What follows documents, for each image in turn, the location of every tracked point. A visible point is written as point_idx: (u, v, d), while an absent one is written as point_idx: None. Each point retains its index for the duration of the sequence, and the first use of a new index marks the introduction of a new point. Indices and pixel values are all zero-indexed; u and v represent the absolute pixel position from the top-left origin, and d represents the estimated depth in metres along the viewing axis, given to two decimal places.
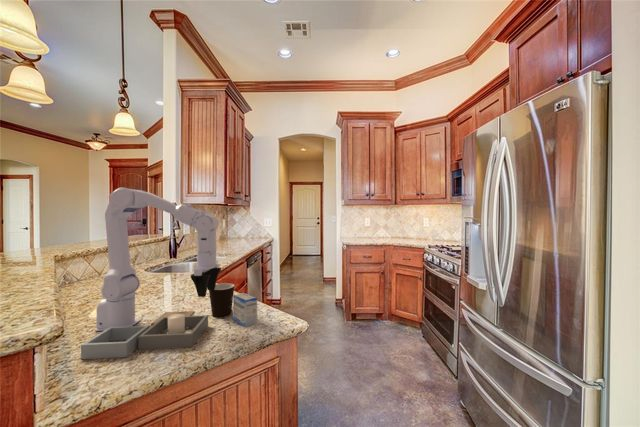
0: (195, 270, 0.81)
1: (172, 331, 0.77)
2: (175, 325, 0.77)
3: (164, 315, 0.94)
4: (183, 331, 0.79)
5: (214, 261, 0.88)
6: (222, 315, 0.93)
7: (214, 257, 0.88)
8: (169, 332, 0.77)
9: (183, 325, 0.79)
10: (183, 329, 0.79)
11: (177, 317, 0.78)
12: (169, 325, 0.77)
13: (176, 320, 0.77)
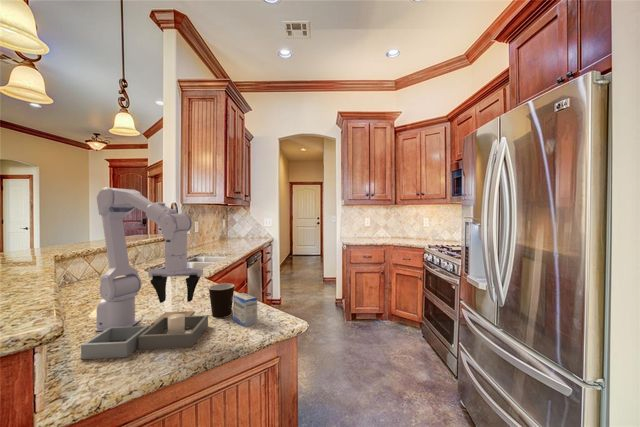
0: None
1: (172, 331, 0.77)
2: (175, 325, 0.77)
3: (164, 315, 0.94)
4: (183, 331, 0.79)
5: (169, 267, 0.76)
6: (222, 315, 0.93)
7: (169, 262, 0.76)
8: (169, 332, 0.77)
9: (183, 325, 0.79)
10: (183, 329, 0.79)
11: (177, 317, 0.78)
12: (169, 325, 0.77)
13: (176, 320, 0.77)
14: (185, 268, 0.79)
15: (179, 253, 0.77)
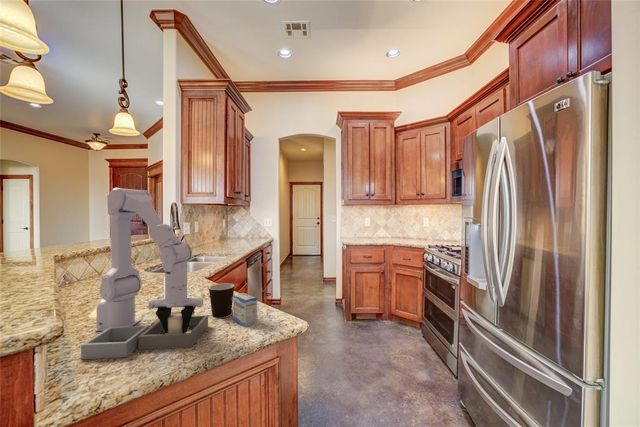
0: None
1: (172, 331, 0.77)
2: (175, 325, 0.77)
3: None
4: None
5: (169, 299, 0.76)
6: (222, 315, 0.93)
7: (169, 294, 0.76)
8: (169, 332, 0.77)
9: None
10: None
11: (177, 317, 0.78)
12: (169, 325, 0.77)
13: (176, 320, 0.77)
14: (185, 299, 0.79)
15: (179, 285, 0.77)
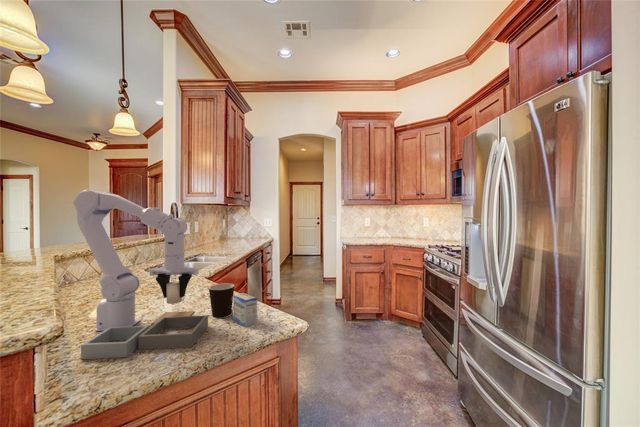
0: None
1: (171, 295, 0.86)
2: (173, 290, 0.86)
3: (164, 315, 0.94)
4: None
5: (168, 266, 0.85)
6: (222, 315, 0.93)
7: (168, 262, 0.85)
8: (168, 296, 0.86)
9: None
10: None
11: (175, 283, 0.87)
12: (168, 290, 0.86)
13: (174, 285, 0.86)
14: (182, 267, 0.88)
15: (181, 253, 0.87)
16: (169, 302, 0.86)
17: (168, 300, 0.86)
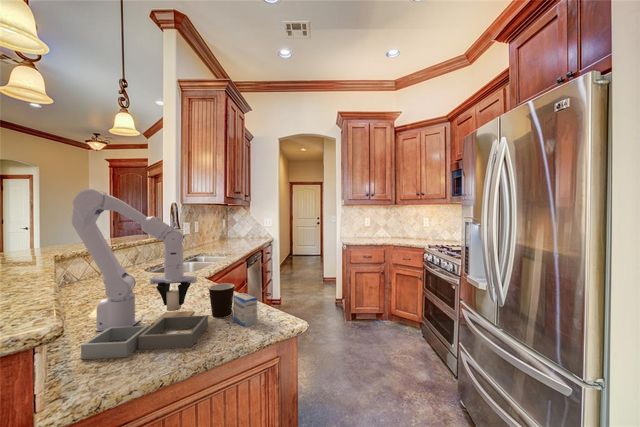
0: None
1: (171, 303, 0.91)
2: (173, 298, 0.91)
3: (164, 315, 0.94)
4: None
5: (168, 276, 0.90)
6: (222, 315, 0.93)
7: (168, 272, 0.90)
8: (168, 304, 0.91)
9: None
10: None
11: (174, 292, 0.92)
12: (168, 298, 0.91)
13: (174, 294, 0.91)
14: (181, 276, 0.93)
15: (182, 263, 0.93)
16: (169, 309, 0.91)
17: (168, 307, 0.91)
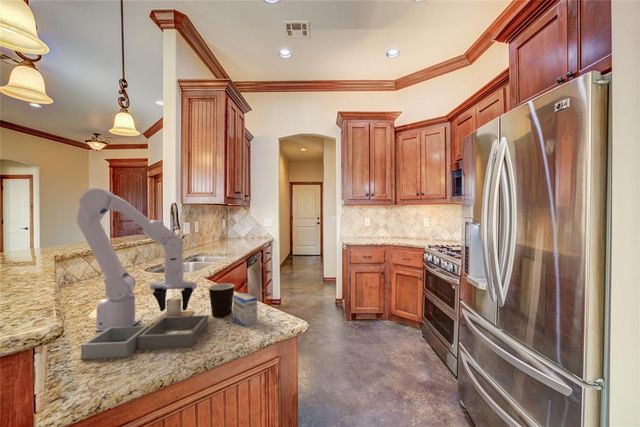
0: None
1: (171, 311, 0.91)
2: (173, 306, 0.91)
3: (164, 315, 0.94)
4: (180, 312, 0.93)
5: (168, 281, 0.90)
6: (222, 315, 0.93)
7: (168, 277, 0.90)
8: (168, 312, 0.91)
9: (180, 307, 0.93)
10: (180, 310, 0.93)
11: (174, 300, 0.92)
12: (168, 306, 0.91)
13: (174, 302, 0.91)
14: (181, 282, 0.93)
15: (182, 268, 0.93)
16: None
17: (168, 316, 0.91)
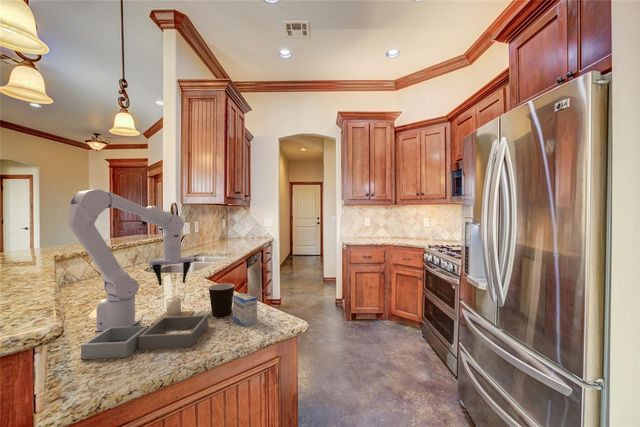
0: (149, 261, 0.98)
1: (171, 311, 0.91)
2: (173, 306, 0.91)
3: (164, 315, 0.94)
4: (180, 312, 0.93)
5: (169, 256, 0.98)
6: (222, 315, 0.93)
7: (169, 253, 0.98)
8: (168, 312, 0.91)
9: (180, 306, 0.93)
10: (180, 310, 0.93)
11: (174, 300, 0.92)
12: (168, 306, 0.91)
13: (174, 302, 0.91)
14: (180, 257, 1.01)
15: (180, 244, 1.02)
16: None
17: (168, 316, 0.91)
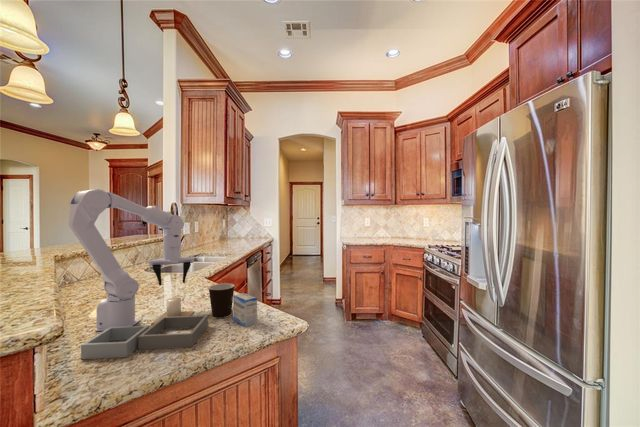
0: (149, 261, 0.98)
1: (171, 311, 0.91)
2: (173, 306, 0.91)
3: (164, 315, 0.94)
4: (180, 311, 0.93)
5: (169, 256, 0.98)
6: (222, 315, 0.93)
7: (169, 253, 0.98)
8: (168, 312, 0.91)
9: (180, 306, 0.93)
10: (180, 310, 0.93)
11: (174, 300, 0.92)
12: (168, 306, 0.91)
13: (174, 302, 0.91)
14: (180, 257, 1.01)
15: (180, 244, 1.02)
16: None
17: (168, 316, 0.91)
